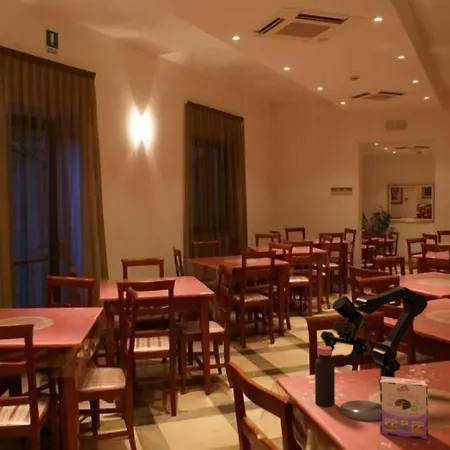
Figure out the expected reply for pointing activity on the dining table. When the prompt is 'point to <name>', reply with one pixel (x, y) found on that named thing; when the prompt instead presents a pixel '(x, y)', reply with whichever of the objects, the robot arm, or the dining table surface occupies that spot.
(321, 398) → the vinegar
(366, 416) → the plate
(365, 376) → the dining table surface
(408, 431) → the candy box
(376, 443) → the dining table surface
